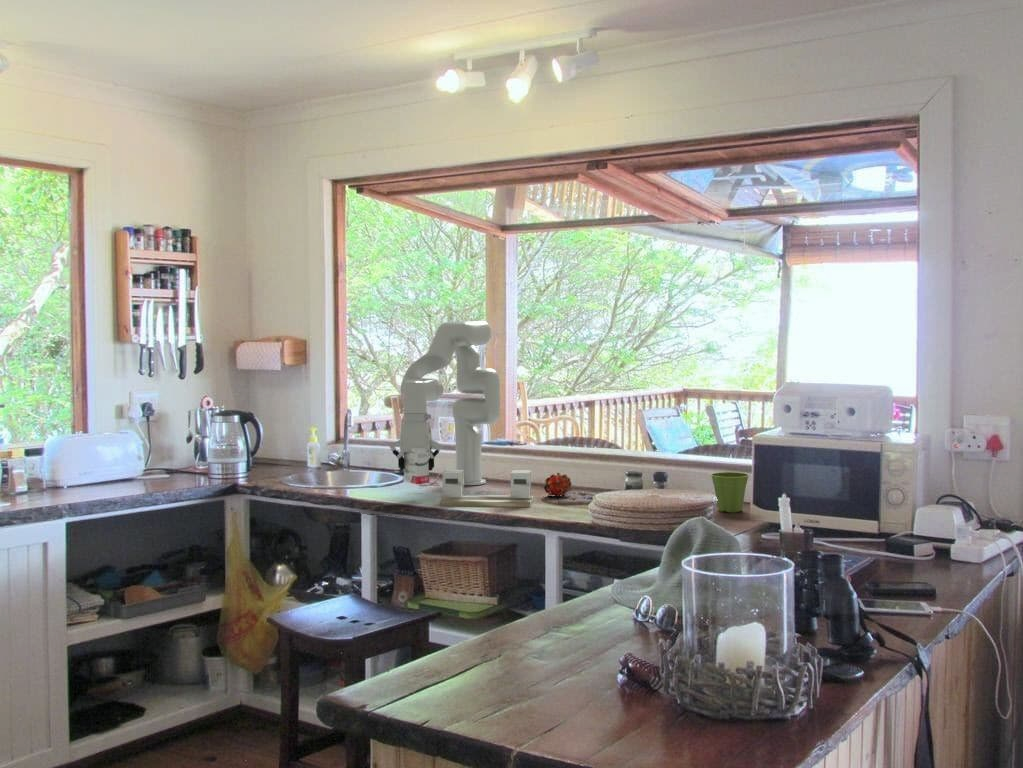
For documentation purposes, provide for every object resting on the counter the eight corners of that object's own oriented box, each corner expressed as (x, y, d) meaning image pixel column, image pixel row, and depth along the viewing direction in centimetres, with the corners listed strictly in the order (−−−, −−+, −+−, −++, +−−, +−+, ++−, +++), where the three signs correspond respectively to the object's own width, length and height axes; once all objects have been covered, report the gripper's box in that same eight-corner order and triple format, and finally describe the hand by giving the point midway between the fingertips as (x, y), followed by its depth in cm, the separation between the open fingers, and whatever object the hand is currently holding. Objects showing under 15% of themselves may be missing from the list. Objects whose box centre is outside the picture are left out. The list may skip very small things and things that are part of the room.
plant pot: (731, 506, 303) (731, 470, 303) (757, 512, 293) (758, 475, 292) (701, 509, 298) (702, 473, 297) (727, 515, 287) (727, 478, 287)
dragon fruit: (572, 499, 329) (548, 508, 321) (556, 482, 333) (532, 491, 325) (581, 481, 324) (557, 490, 316) (565, 464, 328) (540, 473, 320)
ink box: (430, 482, 316) (429, 447, 315) (417, 484, 313) (416, 448, 312) (416, 479, 322) (415, 444, 322) (403, 481, 319) (402, 446, 318)
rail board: (445, 499, 319) (445, 468, 318) (533, 500, 316) (533, 469, 316) (439, 505, 307) (439, 473, 306) (530, 506, 304) (530, 474, 304)
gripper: (443, 416, 319) (444, 468, 320) (391, 417, 320) (393, 468, 322) (439, 419, 311) (440, 471, 312) (386, 419, 313) (388, 471, 314)
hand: (416, 470), depth 317 cm, fingers closed on ink box, 9 cm apart
